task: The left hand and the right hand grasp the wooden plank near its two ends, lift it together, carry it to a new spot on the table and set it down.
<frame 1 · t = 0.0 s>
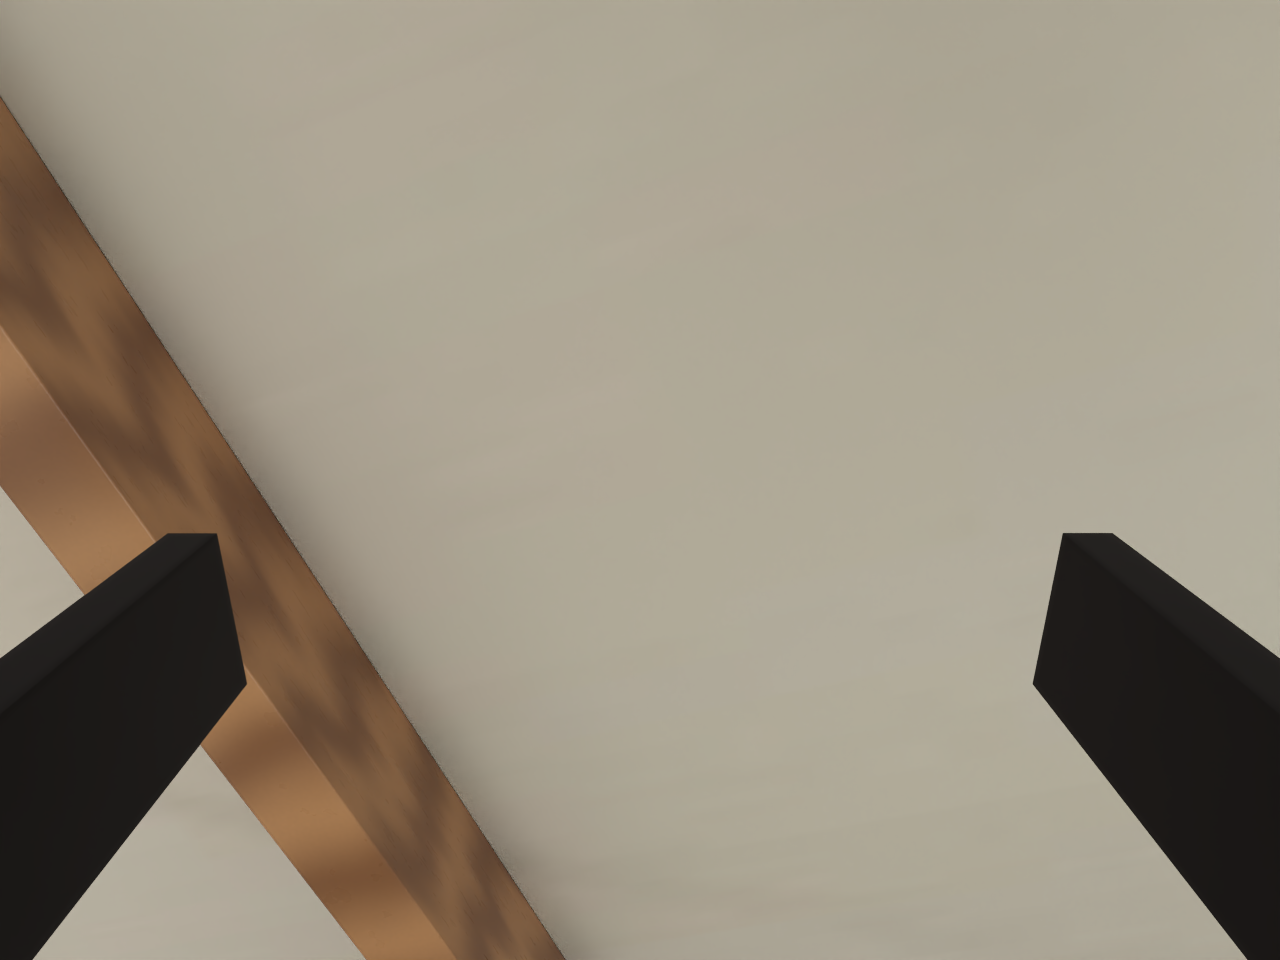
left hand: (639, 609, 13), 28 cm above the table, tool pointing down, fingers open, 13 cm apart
wooden plank: (251, 547, 43), on the table
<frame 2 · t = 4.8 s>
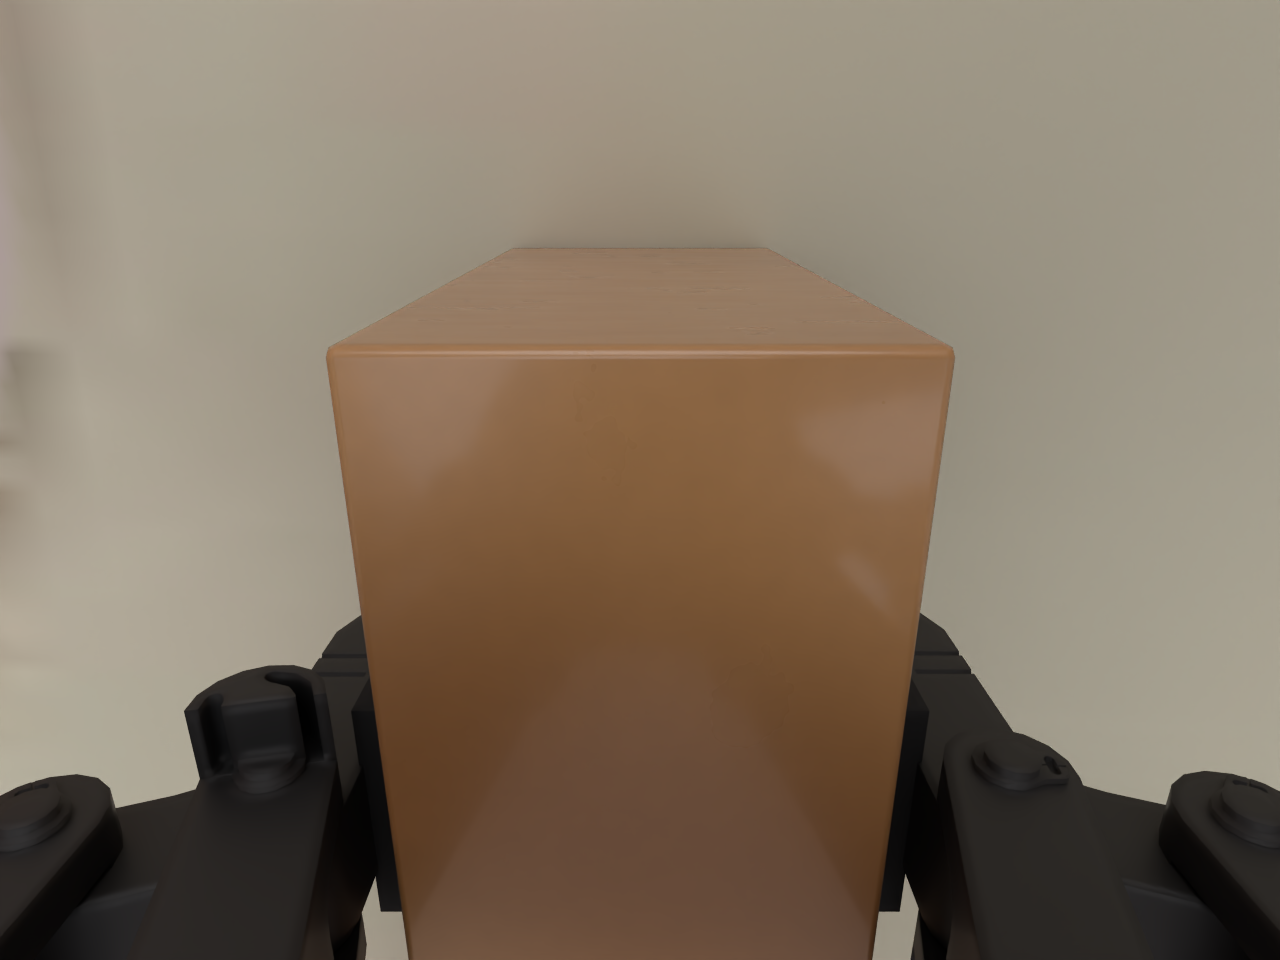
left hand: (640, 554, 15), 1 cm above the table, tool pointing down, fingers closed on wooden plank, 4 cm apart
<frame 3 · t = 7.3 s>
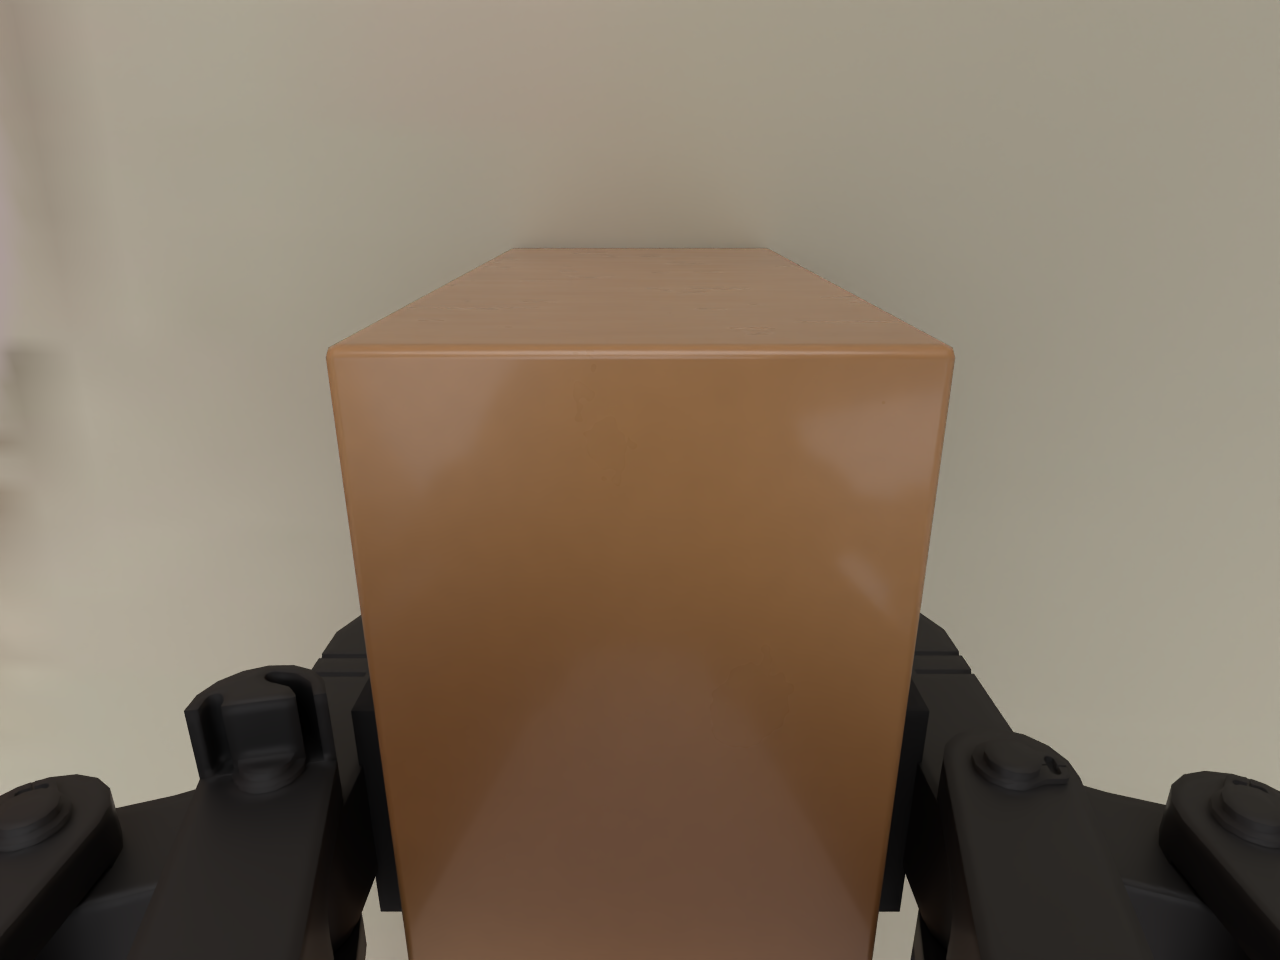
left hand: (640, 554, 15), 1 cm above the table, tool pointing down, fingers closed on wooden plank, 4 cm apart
when the left hand's fingers open (2 cm above the table, at t = 12.9 s): wooden plank drops 1 cm, on the table.
when the right hand's fingers open (5 cm above the table, at t = 13.1 s): wooden plank stays where it is, on the table.
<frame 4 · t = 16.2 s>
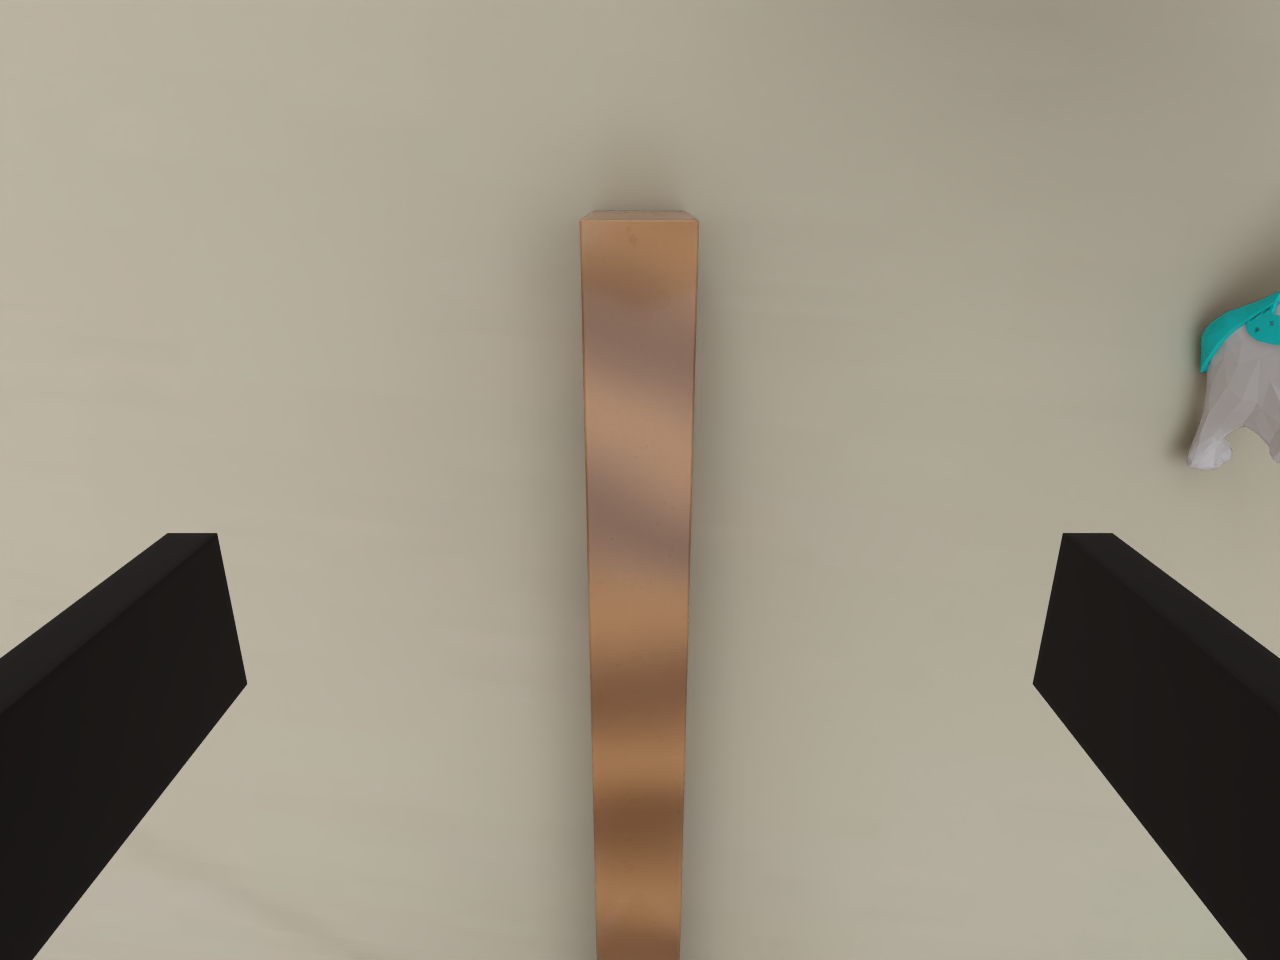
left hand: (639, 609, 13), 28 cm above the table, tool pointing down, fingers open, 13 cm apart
wooden plank: (638, 834, 50), on the table
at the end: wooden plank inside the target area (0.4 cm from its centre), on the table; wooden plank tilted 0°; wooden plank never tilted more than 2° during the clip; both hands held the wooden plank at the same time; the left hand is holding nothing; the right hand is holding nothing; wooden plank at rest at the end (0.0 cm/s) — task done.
